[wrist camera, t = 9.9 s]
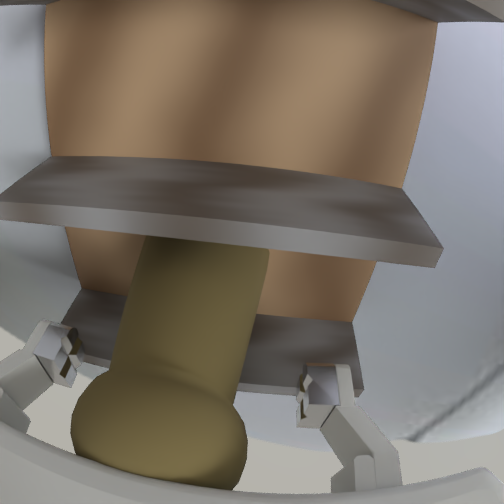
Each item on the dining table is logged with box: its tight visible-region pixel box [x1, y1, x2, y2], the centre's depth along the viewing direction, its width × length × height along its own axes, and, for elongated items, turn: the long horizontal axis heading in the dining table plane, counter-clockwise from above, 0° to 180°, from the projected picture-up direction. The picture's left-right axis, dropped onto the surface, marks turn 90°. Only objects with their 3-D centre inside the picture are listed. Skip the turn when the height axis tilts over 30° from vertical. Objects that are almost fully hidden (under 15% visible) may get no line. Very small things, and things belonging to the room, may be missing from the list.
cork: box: [70, 235, 270, 490], centre depth 11 cm, size 6×6×11 cm
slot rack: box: [0, 0, 504, 397], centre depth 12 cm, size 16×17×6 cm
